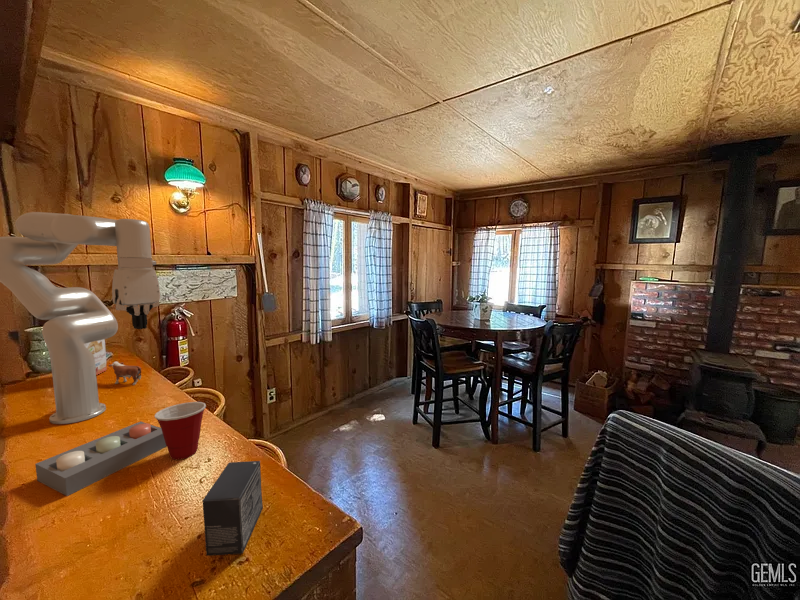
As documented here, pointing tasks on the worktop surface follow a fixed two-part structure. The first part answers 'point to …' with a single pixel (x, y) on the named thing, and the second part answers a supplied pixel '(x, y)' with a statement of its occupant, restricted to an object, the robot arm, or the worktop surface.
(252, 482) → the small box
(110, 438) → the sage button
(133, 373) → the bull figurine
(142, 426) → the brick button
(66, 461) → the ivory button
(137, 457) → the panel
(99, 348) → the cracker box
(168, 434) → the plastic cup
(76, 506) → the worktop surface
